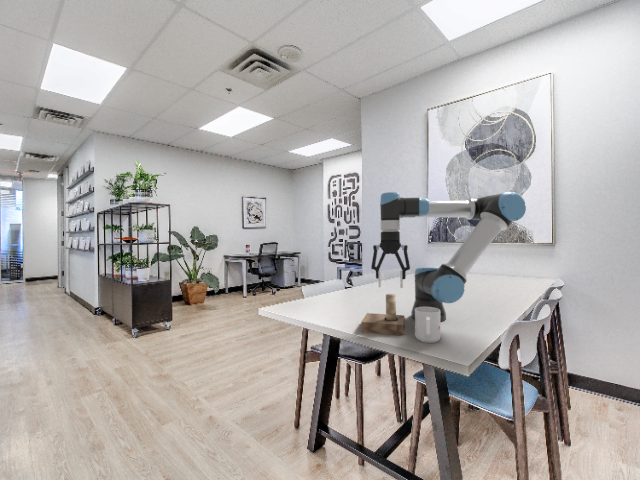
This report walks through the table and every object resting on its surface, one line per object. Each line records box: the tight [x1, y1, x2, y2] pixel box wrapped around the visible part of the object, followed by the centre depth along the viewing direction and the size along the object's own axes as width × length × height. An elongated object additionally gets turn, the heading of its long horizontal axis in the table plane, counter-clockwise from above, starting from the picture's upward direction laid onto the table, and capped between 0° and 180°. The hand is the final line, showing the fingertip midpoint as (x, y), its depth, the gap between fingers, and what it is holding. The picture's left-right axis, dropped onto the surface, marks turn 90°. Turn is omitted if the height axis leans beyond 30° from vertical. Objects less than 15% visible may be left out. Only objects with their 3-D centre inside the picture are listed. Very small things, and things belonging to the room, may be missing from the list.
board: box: [360, 312, 405, 336], centre depth 132 cm, size 16×14×4 cm
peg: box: [385, 293, 397, 321], centre depth 131 cm, size 4×4×14 cm
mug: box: [414, 307, 442, 344], centre depth 116 cm, size 12×9×11 cm
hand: (390, 286), depth 130 cm, fingers open, 8 cm apart
